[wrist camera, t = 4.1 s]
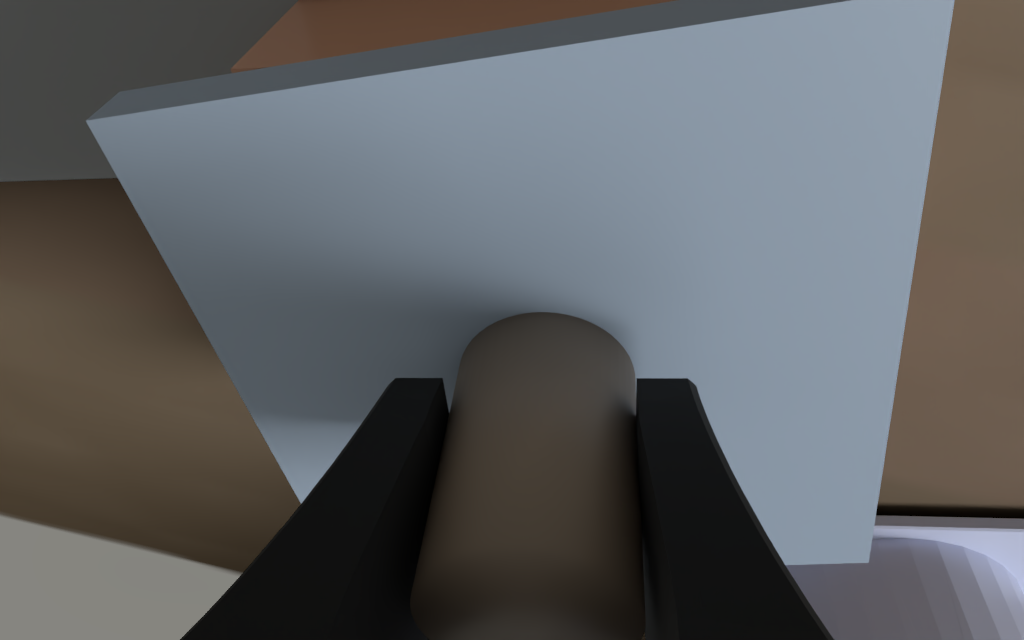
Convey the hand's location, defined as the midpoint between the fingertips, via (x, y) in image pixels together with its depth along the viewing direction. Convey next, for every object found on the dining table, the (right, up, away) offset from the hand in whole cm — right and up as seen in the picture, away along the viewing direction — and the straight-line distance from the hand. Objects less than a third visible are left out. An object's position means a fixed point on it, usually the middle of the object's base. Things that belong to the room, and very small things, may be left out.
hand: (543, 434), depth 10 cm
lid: (0, +1, +1) cm, 2 cm away
